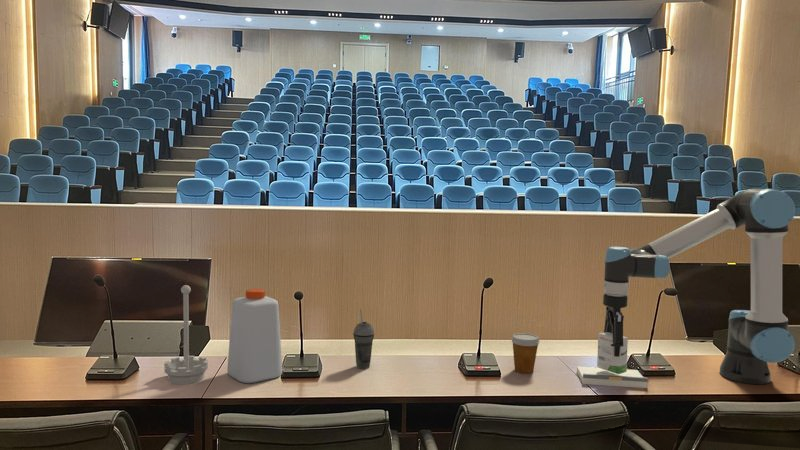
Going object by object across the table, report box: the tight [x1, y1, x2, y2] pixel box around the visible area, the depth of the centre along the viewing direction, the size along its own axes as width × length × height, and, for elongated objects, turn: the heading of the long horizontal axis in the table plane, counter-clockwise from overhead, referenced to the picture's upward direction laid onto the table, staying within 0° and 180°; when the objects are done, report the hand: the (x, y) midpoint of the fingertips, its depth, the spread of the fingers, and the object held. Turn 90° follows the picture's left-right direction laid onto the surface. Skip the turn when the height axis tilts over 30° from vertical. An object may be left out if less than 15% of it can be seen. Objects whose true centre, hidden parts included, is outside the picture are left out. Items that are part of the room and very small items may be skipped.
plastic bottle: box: [227, 288, 283, 384], centre depth 194 cm, size 15×15×28 cm
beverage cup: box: [352, 309, 375, 370], centre depth 205 cm, size 7×7×20 cm
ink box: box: [596, 332, 629, 374], centre depth 198 cm, size 9×5×12 cm, turn 33°
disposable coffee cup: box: [511, 332, 540, 374], centre depth 206 cm, size 10×10×12 cm
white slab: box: [576, 365, 649, 389], centre depth 199 cm, size 20×12×3 cm, turn 83°
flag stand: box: [163, 284, 209, 385], centre depth 189 cm, size 13×13×30 cm
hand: (611, 360), depth 198 cm, fingers closed on ink box, 9 cm apart
